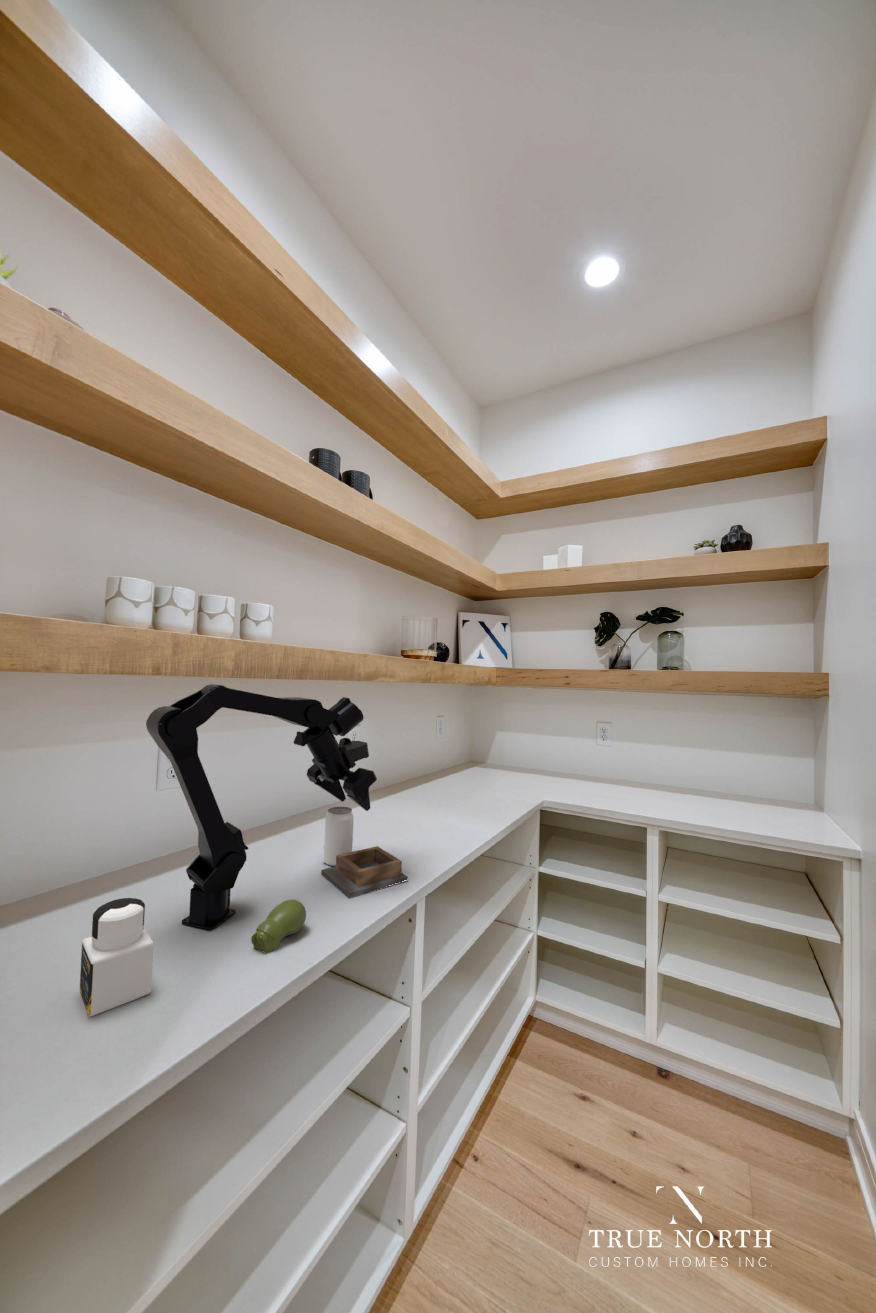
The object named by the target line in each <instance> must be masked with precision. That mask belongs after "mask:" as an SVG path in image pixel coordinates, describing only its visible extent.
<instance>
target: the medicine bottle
mask: <svg viewBox="0 0 876 1313" xmlns="http://www.w3.org/2000/svg"><path fill="white" fill-rule="evenodd" d="M145 908H146V904H145V903H144V901H142V900H141V899H139V898H136V897H135V898H134V897H125V898H124V897H122V898H117V899H114V900H111V901H108V902H106V903H104V904H102V905H101V906H99V907H98V908H97V909H96V910H95V911H94V912H93V913H92V924H91V926H92V928H91V936H89V937H85V938H83V939H82V941H81V956H80V957H81V958H80V974H79V975H80V976H79V978H80V979H79V992H80V995H81V998H82V1000H83V1003H84V1006H85V1008H86V1009H85V1010H86V1011H87V1015H88V1016H89V1017H94V1016H96V1015H99V1014H101V1013H104V1012H107V1011H109V1010H111V1009H115V1008H117V1007H120V1006H122V1005H125V1004H127V1003H129V1002H131V1001H134V1000H137V999H140V998H142V997H144V996H147V995H149V994H151V992H152V981H153V980H152V979H153V978H152V977H153V962H154V960H153V959H154V941H153V940H152V938H151V937H150V935H149V933H148V932H147V930H146V929H145V911H146V910H145Z"/></svg>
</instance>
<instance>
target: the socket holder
mask: <svg viewBox="0 0 876 1313" xmlns="http://www.w3.org/2000/svg"><path fill="white" fill-rule="evenodd" d="M402 867H403V861H402V860H401V859H399V858H398V857H395V856H394V855H393V854H391V853H390V852H388V851H386V850H384V849H383V848H381V847H380V846H377V845H376V846H372V847H367V848H364V849H358V850H354V851H352V852H349V853H345V854H340V855H336V866H330V867H328V868H324V869H321V872H320V874H321V876H322V877H323V878H325V879H326V880H327V881H328V882H330V884H332V885H333V886H334V887H335V888H336V889H337V890H339V891H340V892H341V893H342V894H344V895H345V896H346V897H347V898H348V899H350V898H351V899H352V898H355V897H359V896H361V894H362V895H364V894H367V893H368V892H369V893H371V891H372V892H375V891H374V890H376V891H378V890H377V889H379V890H381V889H380V888H383V889H385V888H384V887H386V886H389V885H392V884H395V883H399V882H402V881H404V880H407V879H408V880H409V878H408V877H409V876H408V875H406V874H404V873H403V872H402ZM389 887H390V886H389ZM386 888H387V887H386ZM369 893H368V894H369Z"/></svg>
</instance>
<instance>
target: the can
mask: <svg viewBox="0 0 876 1313" xmlns="http://www.w3.org/2000/svg"><path fill="white" fill-rule="evenodd" d="M324 820H325V822H324V824H325V825H324V841H323V842H324V845H323V862H324V863H325V865H326V866H330V867H335V866H336V855H340V854H345V853H349V852H353V842H354V814H353V809H352V808H351V807H347V806H333V807H329V808H328V809H327V814H326V815H325V819H324Z"/></svg>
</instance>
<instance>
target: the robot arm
mask: <svg viewBox="0 0 876 1313" xmlns="http://www.w3.org/2000/svg"><path fill="white" fill-rule="evenodd" d="M222 708H226V709H230V710H236V711H242V712H248V713H254V714H261V715H265V716H266V715H267V716H271V717H275V718H277V719H279V720H280V721H283V722H286V723H289V724H292V725H294V726H299V727H303V728H304V727H305V728H306V729H305V730H303V731H299V730H298V731H296V736H295V737H294V741H293V744H294V745H296V746H299V747H305V746H307V748H308V749H309V751H310V753H311V755H312V757H313V759H311V761H312V765H310V767H309V768H308V769H307V771H306V777H307V778H308V780H309V781H310V782H312V783H313V784H314V785H316V786H318V787H319V788H320V789H321V790H324V791H325V792H326V793H328V794H330V795H332V797H335V799H337V800H339V801H340V802H344V801H346V799H347V798H349V799H350V800H352V801H353V802H354V803H355V804H356V805H358V806H359V807H360V808H361V809H363V810H365V812H369V810H370V809H371V802H370V801H371V800H370V787H371V786H372V785H373V784H374V783H376V781H377V780H378V778H377V776H376V774H375V772H374V770H370V769H367V768H363V767H358V768H356V769H355V771H352V770H350V769H353V768H354V767H356V766H357V764H356V762H358V761H360V760H363V759H368V758H369V757H370V755H369V754H370V753H369V746H368V742H366V741H361V740H354V739H353V740H351V739H350V737H345V736H346V735H347V734H348V733H350V732H351V731H352V730H354V729H355V727H357V726H358V725H360V723H361V722H363V721H364V714H363V712H362V710H361V709H359V707H358V706H357V705H356V704H355V703H354V702H352V701H351V699H350V697H346V696H345V697H344V696H343V697H342V698H340V699H339V700H338V702H336V703H335V704H333V705H332V706H330V708H329V709H327V708H325V707H324V706H323V703H322V702H321V701H320V700H317V699H313V698H307V697H298V696H297V697H291V696H289V697H285V696H283V697H275V696H269V695H266V694H265V695H264V694H259V693H256V692H255V693H254V692H249V691H245V690H239V689H235V688H229V687H228V686H227V687H226V686H225V685H221V684H214V683H213V684H212V683H210V684H207V685H205V686H204V687H203V688H201V689H199V690H198V691H196V692H194V693H192V694H189V695H188V696H186V697H183V698H181V699H178V700H177V701H175V702H174V703H172V704H171V705H168V706H167V705H164V706H159V707H157V708H156V709H154V710H153V711H151V713H150V714H149V716H148V717H147V719H146V721H145V724H146V726H145V727H146V731H147V732H148V733H149V736H151V738H152V740H153V741H154V743H155V744H156V745H157V747H158V748H159V750H161V751H162V753H163V754H164V755H165V756H166V758H167V759H168V761H169V762H170V763H171V766H172V769H173V770H174V773H175V776H176V779H177V781H178V783H179V786H180V789H181V790H182V793H183V795H184V798H185V800H186V803H187V805H188V808H189V810H190V813H191V816H192V818H193V820H194V822H195V825H196V827H197V828H196V829H197V830H198V833H197V834H198V839H197V847H198V850H199V854H198V855H197V857H196V858H195V859H194V860H193V861H191V863H190V864H189V865H188V866H187V867H186V869H185V871H186V874H187V877H188V880H189V881H192V882H193V885H192V888H190V892H189V897H190V898H189V913H188V914H189V915H188V916H186V917H185V918H183V919H181V924H182V925H185V926H186V925H187V926H191V927H195V928H200V929H202V930H208V931H211V930H214V929H216V928H217V927H218V926H220V925H221V924H223V923H224V922H225V921H227V920H228V919H230V918H231V917H232V916H234V915H235V914H236V913H237V910H236V909H234V908H230V905H231V891H232V890H231V889H233V888H234V887H235V884H236V882H237V879H238V875H239V874H240V871H241V870H242V869H243V867H244V865H245V864H246V861H247V859H248V858H247V852H246V851H247V850H248V849H249V847H248V846H247V845H246V843H245V842H244V838H243V833H242V830H241V829H240V828H239V827H237V826H235V825H233V824H232V823H231V822H229V821H226V822H225V820H224V818H223V815H222V812H221V810H220V807H219V805H218V802H217V800H216V798H215V795H214V792H213V790H212V787H211V785H210V784H211V783H209V779H208V777H207V774H206V772H205V769H204V767H203V764H202V761H201V759H200V757H199V753H198V752H199V735H198V730H197V729H198V728H199V727H200V726H202V725H203V724H205V723H206V722H207V721H208V720H210V718H211V717H213V716H214V714H216V713H217V712H218V711H219V710H221V709H222ZM337 736H340V737H343V738H340V739H339V742H338V740H337V739H336V737H337ZM341 781H343V785H342V783H341ZM345 793H346V794H345ZM346 796H347V797H346Z"/></svg>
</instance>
